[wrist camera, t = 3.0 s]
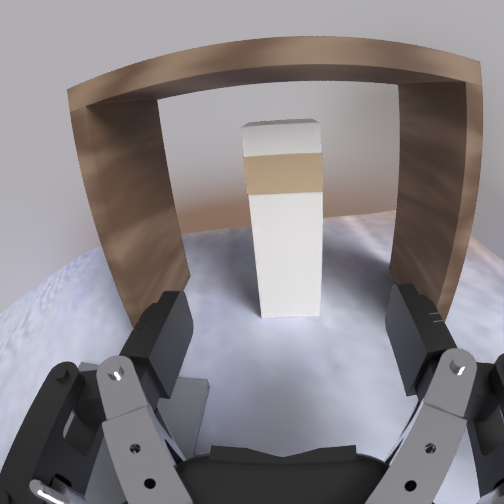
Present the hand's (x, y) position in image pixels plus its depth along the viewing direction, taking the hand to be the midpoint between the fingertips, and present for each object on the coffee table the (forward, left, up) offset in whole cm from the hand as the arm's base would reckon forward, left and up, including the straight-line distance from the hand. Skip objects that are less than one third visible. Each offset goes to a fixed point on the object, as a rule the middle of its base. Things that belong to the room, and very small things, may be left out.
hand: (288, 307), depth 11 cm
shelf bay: (0, +10, -8) cm, 13 cm away
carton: (0, +11, -8) cm, 13 cm away
